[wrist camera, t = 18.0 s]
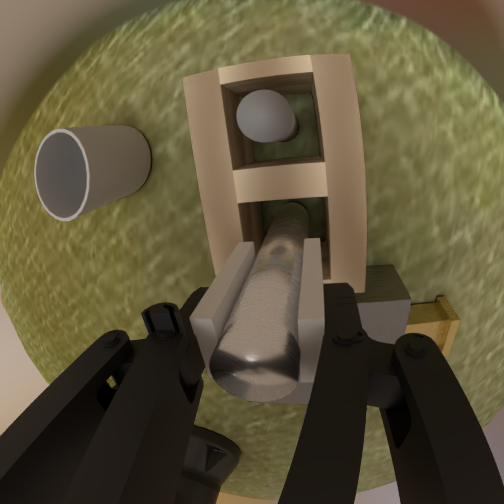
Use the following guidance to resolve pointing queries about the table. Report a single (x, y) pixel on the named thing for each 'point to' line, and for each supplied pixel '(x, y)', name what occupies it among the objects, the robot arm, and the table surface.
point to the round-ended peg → (266, 317)
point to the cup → (89, 168)
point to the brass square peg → (435, 322)
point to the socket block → (370, 317)
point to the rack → (280, 170)
